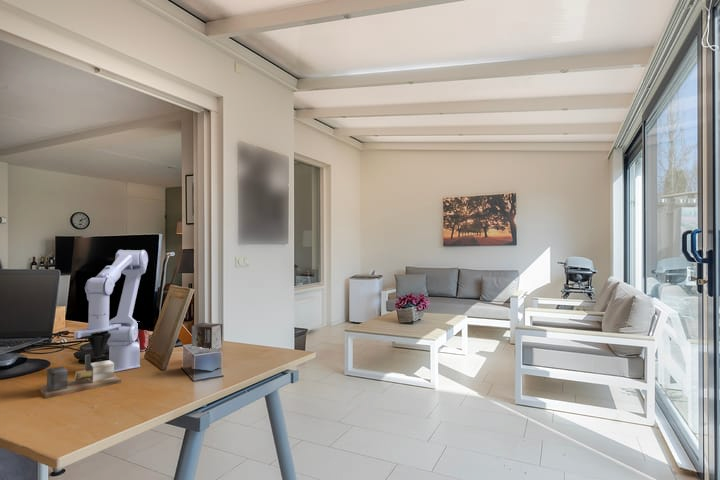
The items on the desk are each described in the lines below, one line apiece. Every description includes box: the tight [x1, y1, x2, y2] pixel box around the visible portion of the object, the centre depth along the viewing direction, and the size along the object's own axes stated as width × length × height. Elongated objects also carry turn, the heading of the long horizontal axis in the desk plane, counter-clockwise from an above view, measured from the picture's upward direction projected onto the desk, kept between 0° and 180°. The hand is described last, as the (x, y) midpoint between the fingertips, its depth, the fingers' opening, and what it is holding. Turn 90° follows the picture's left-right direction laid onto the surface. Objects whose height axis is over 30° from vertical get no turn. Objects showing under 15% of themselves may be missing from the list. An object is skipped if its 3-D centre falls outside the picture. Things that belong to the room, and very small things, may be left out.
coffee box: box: [191, 322, 223, 356], centre depth 154 cm, size 9×6×16 cm
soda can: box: [134, 329, 150, 352], centre depth 178 cm, size 5×5×12 cm
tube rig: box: [38, 360, 122, 399], centre depth 133 cm, size 20×10×6 cm, turn 137°
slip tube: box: [74, 353, 93, 381], centre depth 135 cm, size 9×3×7 cm, turn 137°
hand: (98, 355), depth 137 cm, fingers closed
